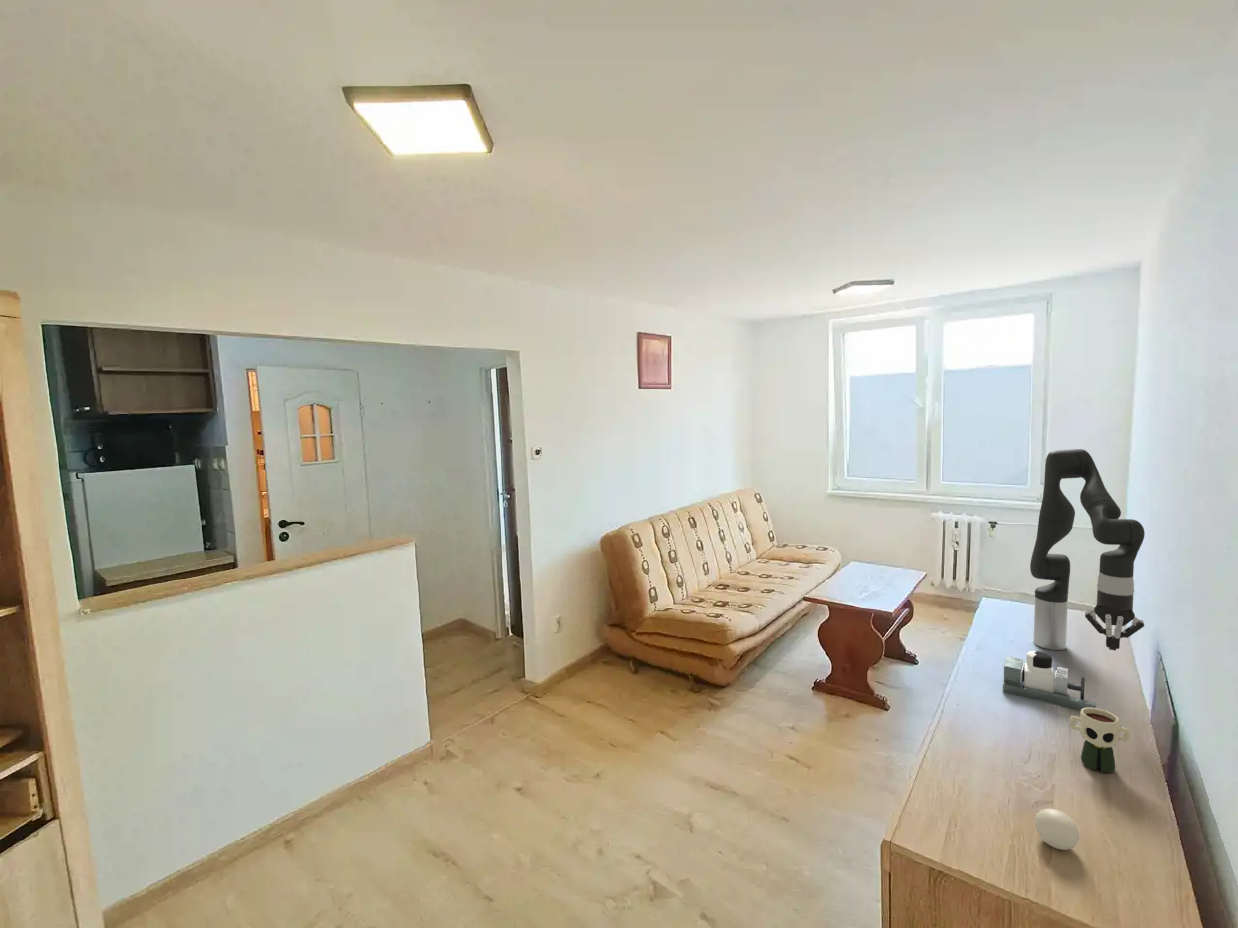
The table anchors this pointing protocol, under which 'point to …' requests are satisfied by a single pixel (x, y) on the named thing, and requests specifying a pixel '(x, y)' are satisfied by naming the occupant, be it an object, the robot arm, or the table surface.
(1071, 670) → the table surface
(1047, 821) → the white egg
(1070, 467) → the robot arm
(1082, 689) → the sliding jaw
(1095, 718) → the character mug
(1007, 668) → the vise bed
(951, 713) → the table surface
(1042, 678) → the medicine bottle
